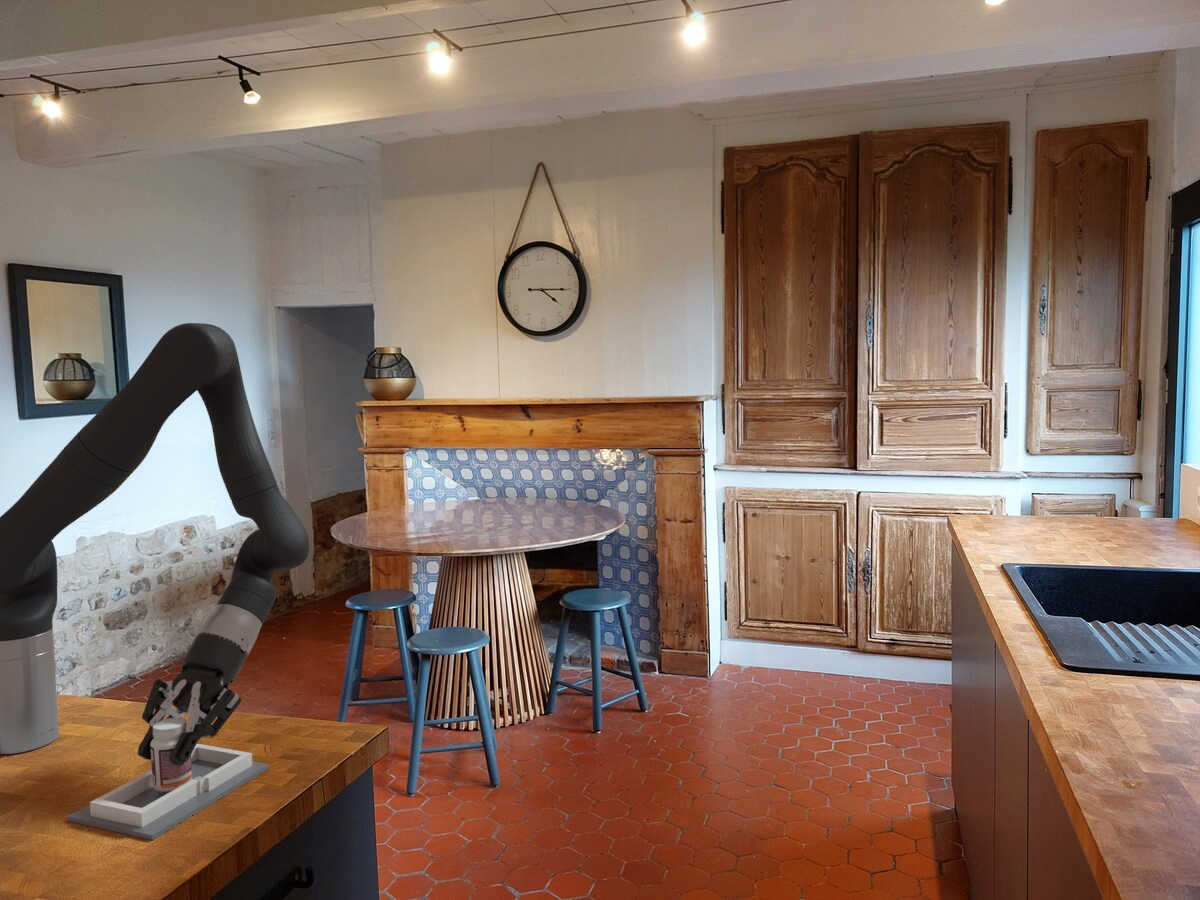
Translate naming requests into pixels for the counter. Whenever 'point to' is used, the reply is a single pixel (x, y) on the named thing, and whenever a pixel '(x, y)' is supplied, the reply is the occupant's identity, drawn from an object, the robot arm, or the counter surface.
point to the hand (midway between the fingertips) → (159, 759)
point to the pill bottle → (168, 755)
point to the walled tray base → (170, 795)
